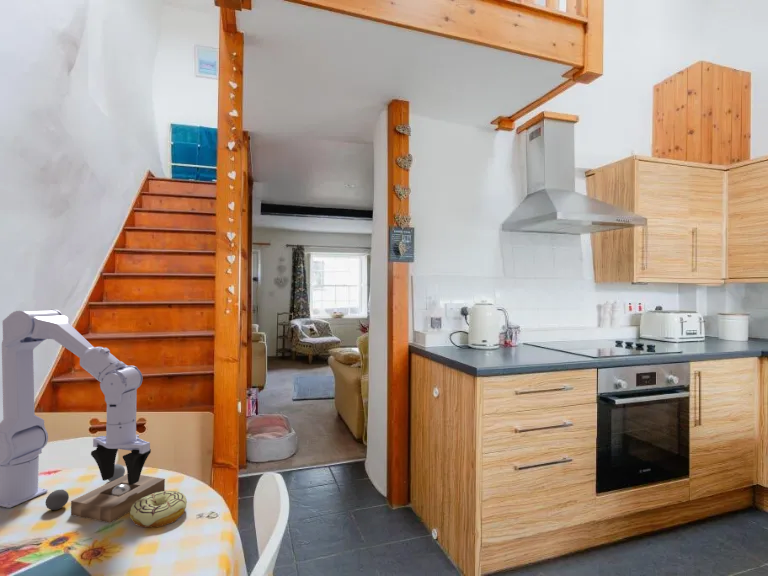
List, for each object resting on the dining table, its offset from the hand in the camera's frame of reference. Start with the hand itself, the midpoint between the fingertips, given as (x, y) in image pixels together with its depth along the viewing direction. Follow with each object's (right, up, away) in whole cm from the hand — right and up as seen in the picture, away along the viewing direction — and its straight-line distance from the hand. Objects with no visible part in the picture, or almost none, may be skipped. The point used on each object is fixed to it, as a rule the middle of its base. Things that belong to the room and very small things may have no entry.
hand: (120, 480), depth 91 cm
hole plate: (0, -5, 0) cm, 5 cm away
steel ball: (0, -3, 0) cm, 3 cm away
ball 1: (-12, -3, -3) cm, 13 cm away
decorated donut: (+12, -5, -6) cm, 14 cm away
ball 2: (-8, -3, +11) cm, 14 cm away
